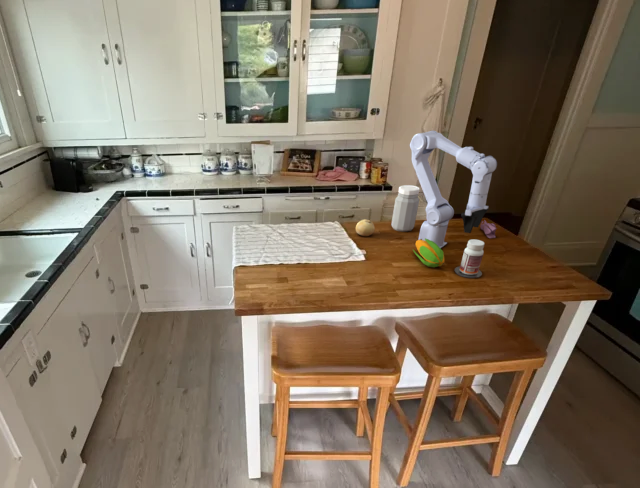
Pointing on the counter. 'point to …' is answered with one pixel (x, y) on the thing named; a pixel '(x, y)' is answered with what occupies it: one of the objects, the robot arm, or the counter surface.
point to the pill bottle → (472, 257)
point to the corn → (430, 253)
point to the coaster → (458, 272)
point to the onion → (365, 227)
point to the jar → (405, 208)
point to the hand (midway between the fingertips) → (471, 229)
